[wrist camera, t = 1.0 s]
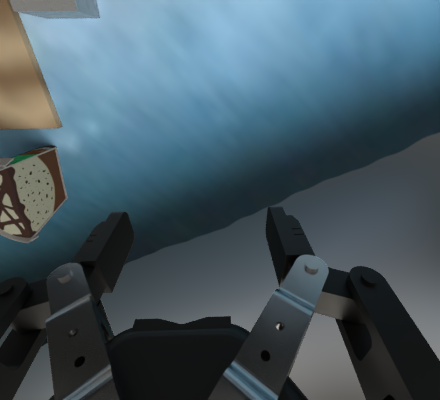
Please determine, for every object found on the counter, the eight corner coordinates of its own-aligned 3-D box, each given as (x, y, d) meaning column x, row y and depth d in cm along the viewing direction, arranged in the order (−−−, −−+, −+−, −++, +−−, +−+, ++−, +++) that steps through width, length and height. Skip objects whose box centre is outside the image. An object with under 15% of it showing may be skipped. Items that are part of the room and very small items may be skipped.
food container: (8, 129, 32) (-65, 155, 24) (54, 137, 33) (-1, 165, 24) (31, 200, 39) (-20, 240, 30) (69, 205, 39) (29, 245, 31)
